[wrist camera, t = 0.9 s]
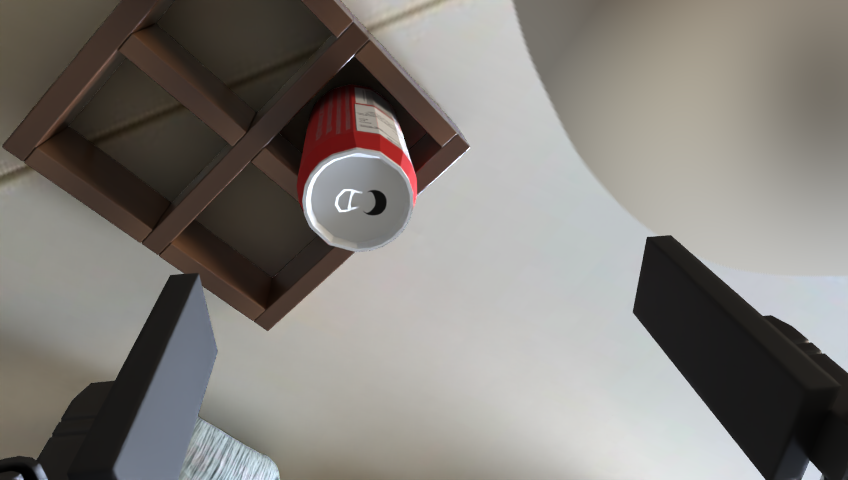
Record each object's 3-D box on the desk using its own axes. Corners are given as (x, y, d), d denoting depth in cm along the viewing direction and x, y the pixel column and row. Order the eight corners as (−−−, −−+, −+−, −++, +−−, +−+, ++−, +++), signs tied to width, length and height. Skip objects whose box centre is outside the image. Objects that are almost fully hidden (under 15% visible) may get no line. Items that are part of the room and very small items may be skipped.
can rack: (37, 125, 32) (0, 146, 29) (235, -114, 28) (220, -122, 25) (274, 297, 40) (267, 331, 36) (458, 128, 36) (471, 147, 32)
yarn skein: (324, 480, 44) (243, 607, 37) (259, 490, 50) (177, 603, 42) (210, 351, 41) (96, 461, 34) (155, 378, 47) (46, 477, 39)
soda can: (303, 160, 35) (286, 251, 25) (315, 73, 33) (303, 133, 23) (388, 175, 37) (406, 268, 26) (406, 93, 34) (435, 158, 24)
